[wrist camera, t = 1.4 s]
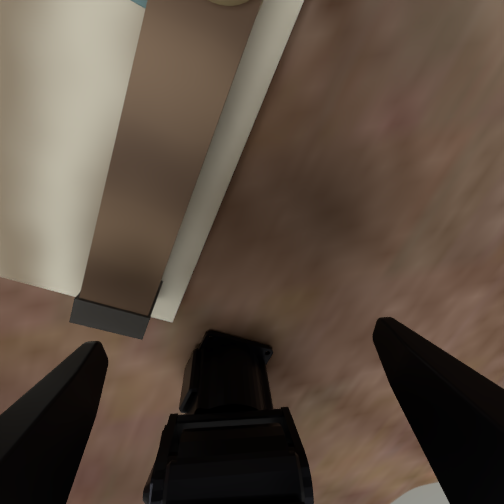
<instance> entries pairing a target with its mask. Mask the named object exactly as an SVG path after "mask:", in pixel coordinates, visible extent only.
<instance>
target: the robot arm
mask: <svg viewBox="0 0 504 504" xmlns="http://www.w3.org/2000/svg"><path fill="white" fill-rule="evenodd" d="M209 336H212V337H209ZM373 342H374V345H375V347H376V350H377V352H378V355H379V358H380V360H381V363H382V366H383V368H384V371H385V373H386V376H387V378H388V381H389V383H390V386H391V388H392V390H393V392H394V394H395V396H396V398H397V400H398V402H399V404H400V406H401V408H402V410H403V412H404V414H405V416H406V418H407V420H408V422H409V424H410V426H411V428H412V430H413V432H414V434H415V436H416V438H417V440H418V442H419V444H420V446H421V448H422V450H423V452H424V454H425V456H426V457H427V459H428V461H429V463H430V465H431V467H432V469H433V471H434V473H435V475H436V477H437V479H438V481H439V483H440V485H441V487H442V489H443V491H444V493H445V495H446V497H447V499H448V501H449V503H450V504H504V389H503V388H501V387H500V386H498V385H497V384H495V383H494V382H492V381H490V380H489V379H487V378H486V377H484V376H483V375H481V374H479V373H478V372H476V371H475V370H473V369H472V368H470V367H469V366H467V365H465V364H464V363H462V362H461V361H459V360H458V359H456V358H455V357H453V356H451V355H450V354H448V353H447V352H445V351H444V350H442V349H440V348H439V347H437V346H436V345H434V344H433V343H431V342H430V341H428V340H426V339H425V338H423V337H422V336H420V335H419V334H417V333H415V332H414V331H412V330H411V329H409V328H408V327H406V326H405V325H403V324H401V323H400V322H398V321H397V320H395V319H394V318H392V317H382V318H379V319H378V320H377V322H376V325H375V329H374V332H373ZM266 351H268V352H266ZM272 354H273V351H272V348H271V347H270V346H267V345H263V344H260V343H256V342H252V341H249V340H245V339H241V338H237V337H234V336H230V335H226V334H222V333H219V332H215V331H208V332H206V334H205V336H204V338H203V340H202V342H201V344H200V346H199V348H198V349H195V350H194V351H193V353H192V355H191V357H190V359H189V361H188V363H187V365H186V367H185V371H184V378H183V385H182V391H181V398H180V405H179V410H180V412H182V413H185V414H184V415H178V413H177V414H170V416H169V420H168V424H167V425H165V428H164V430H163V431H162V435H161V441H160V446H159V450H158V453H157V457H156V461H155V463H154V465H153V468H152V470H151V473H150V475H149V478H148V480H147V482H146V485H145V487H144V491H143V501H144V503H145V504H314V498H313V487H312V480H311V474H310V469H309V464H308V460H307V457H306V454H305V451H304V448H303V445H302V443H301V440H300V437H299V434H298V432H297V429H296V426H295V424H294V421H293V418H292V416H291V413H290V410H289V408H288V407H281V409H273V404H272V399H271V393H270V388H269V382H268V376H267V371H266V364H267V362H268V361H269V359H270V357H271V356H272ZM107 367H108V357H107V355H106V352H105V350H104V348H103V346H102V344H101V342H99V341H91V342H85V343H84V344H82V345H81V346H80V347H79V348H78V349H76V350H75V351H74V352H73V353H72V354H71V355H69V356H68V357H67V358H66V359H65V360H64V361H63V362H61V363H60V364H59V365H58V366H57V367H56V368H54V369H53V370H52V371H51V372H50V373H49V374H47V375H46V376H45V377H44V378H43V379H42V380H40V381H39V382H38V383H37V384H36V385H35V386H34V387H32V388H31V389H30V390H29V391H28V392H27V393H25V394H24V395H23V396H22V397H21V398H20V399H18V400H17V401H16V402H15V403H14V404H13V405H11V406H10V407H9V408H8V409H7V410H6V411H5V412H3V413H2V414H1V415H0V504H66V502H67V499H68V496H69V493H70V491H71V488H72V485H73V482H74V479H75V476H76V473H77V470H78V467H79V464H80V461H81V459H82V456H83V453H84V450H85V447H86V444H87V441H88V438H89V435H90V432H91V429H92V427H93V424H94V420H95V417H96V414H97V410H98V406H99V402H100V398H101V393H102V389H103V385H104V380H105V376H106V372H107Z"/></svg>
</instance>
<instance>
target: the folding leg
mask: <svg viewBox="0 0 504 504" xmlns="http://www.w3.org/2000/svg"><path fill="white" fill-rule="evenodd" d="M262 3H263V0H147V4H146V9H145V13H144V17H143V22H142V26H141V30H140V35H139V39H138V43H137V48H136V52H135V57H134V61H133V65H132V70H131V74H130V78H129V83H128V87H127V91H126V96H125V100H124V104H123V109H122V113H121V117H120V122H119V126H118V131H117V135H116V139H115V144H114V148H113V152H112V157H111V161H110V165H109V170H108V174H107V178H106V183H105V187H104V191H103V196H102V200H101V205H100V209H99V213H98V218H97V222H96V226H95V231H94V235H93V239H92V244H91V248H90V252H89V257H88V261H87V266H86V270H85V274H84V279H83V283H82V287H81V291H80V293H79V294H78V295H77V296H76V298H75V299H74V303H73V308H72V312H71V317H70V321H69V322H71V323H75V324H79V325H83V326H87V327H92V328H96V329H100V330H104V331H108V332H112V333H116V334H121V335H125V336H129V337H133V338H137V339H141V340H142V339H143V336H144V333H145V331H146V328H147V325H148V322H149V320H150V317H151V314H152V311H153V309H154V306H155V303H156V300H157V297H158V295H159V292H160V289H161V286H162V283H163V281H161V279H162V276H163V274H164V271H165V268H166V265H167V263H168V260H169V257H170V254H171V252H172V249H173V246H174V243H175V241H176V238H177V235H178V232H179V229H180V227H181V224H182V221H183V218H184V216H185V213H186V210H187V207H188V205H189V202H190V199H191V196H192V193H193V191H194V188H195V185H196V182H197V180H198V177H199V174H200V171H201V169H202V166H203V163H204V160H205V157H206V155H207V152H208V149H209V146H210V144H211V141H212V138H213V135H214V133H215V130H216V127H217V124H218V121H219V119H220V116H221V113H222V110H223V108H224V105H225V102H226V99H227V97H228V94H229V91H230V88H231V85H232V83H233V80H234V77H235V74H236V72H237V69H238V66H239V63H240V61H241V58H242V55H243V52H244V49H245V47H246V44H247V41H248V38H249V36H250V33H251V30H252V27H253V25H254V22H255V19H256V16H257V14H258V12H259V10H260V8H261V6H262Z"/></svg>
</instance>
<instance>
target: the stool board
mask: <svg viewBox="0 0 504 504" xmlns="http://www.w3.org/2000/svg"><path fill="white" fill-rule="evenodd" d="M303 2H304V0H263V3H262V6H261V8H260V10H259V12H258V14H257V16H256V19H255V22H254V25H253V27H252V30H251V33H250V36H249V38H248V41H247V44H246V47H245V49H244V52H243V55H242V58H241V61H240V63H239V66H238V69H237V72H236V74H235V77H234V80H233V83H232V85H231V88H230V91H229V94H228V97H227V99H226V102H225V105H224V108H223V110H222V113H221V116H220V119H219V121H218V124H217V127H216V130H215V133H214V135H213V138H212V141H211V144H210V146H209V149H208V152H207V155H206V157H205V160H204V163H203V166H202V169H201V171H200V174H199V177H198V180H197V182H196V185H195V188H194V191H193V193H192V196H191V199H190V202H189V205H188V207H187V210H186V213H185V216H184V218H183V221H182V224H181V227H180V229H179V232H178V235H177V238H176V241H175V243H174V246H173V249H172V252H171V254H170V257H169V260H168V263H167V265H166V268H165V271H164V274H163V276H162V279H161V281H163V283H162V286H161V289H160V292H159V295H158V297H157V300H156V303H155V306H154V309H153V311H152V314H151V317H153V318H157V319H161V320H165V321H168V322H173V319H174V317H175V315H176V312H177V310H178V307H179V305H180V302H181V300H182V297H183V295H184V293H185V290H186V288H187V285H188V283H189V280H190V278H191V275H192V273H193V271H194V268H195V266H196V263H197V261H198V258H199V256H200V253H201V251H202V249H203V246H204V244H205V241H206V239H207V236H208V234H209V231H210V229H211V227H212V224H213V222H214V219H215V217H216V214H217V212H218V209H219V207H220V205H221V202H222V200H223V197H224V195H225V192H226V190H227V187H228V185H229V183H230V180H231V178H232V175H233V173H234V170H235V168H236V165H237V163H238V161H239V158H240V156H241V153H242V151H243V148H244V146H245V143H246V141H247V139H248V136H249V134H250V131H251V129H252V126H253V124H254V121H255V119H256V117H257V114H258V112H259V109H260V107H261V104H262V102H263V99H264V97H265V95H266V92H267V90H268V87H269V85H270V82H271V80H272V77H273V75H274V73H275V70H276V68H277V65H278V63H279V60H280V58H281V55H282V53H283V51H284V48H285V46H286V43H287V41H288V38H289V36H290V33H291V31H292V29H293V26H294V24H295V21H296V19H297V16H298V14H299V11H300V9H301V7H302V4H303ZM146 4H147V0H0V277H3V278H7V279H10V280H14V281H18V282H22V283H25V284H29V285H33V286H37V287H40V288H44V289H48V290H52V291H56V292H59V293H63V294H67V295H71V296H74V297H76V296H77V295H78V294H79V293H80V291H81V287H82V283H83V279H84V274H85V270H86V266H87V261H88V257H89V252H90V248H91V244H92V239H93V235H94V231H95V226H96V222H97V218H98V213H99V209H100V205H101V200H102V196H103V191H104V187H105V183H106V178H107V174H108V170H109V165H110V161H111V157H112V152H113V148H114V144H115V139H116V135H117V131H118V126H119V122H120V117H121V113H122V109H123V104H124V100H125V96H126V91H127V87H128V83H129V78H130V74H131V70H132V65H133V61H134V57H135V52H136V48H137V43H138V39H139V35H140V30H141V26H142V22H143V17H144V13H145V9H146Z"/></svg>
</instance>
